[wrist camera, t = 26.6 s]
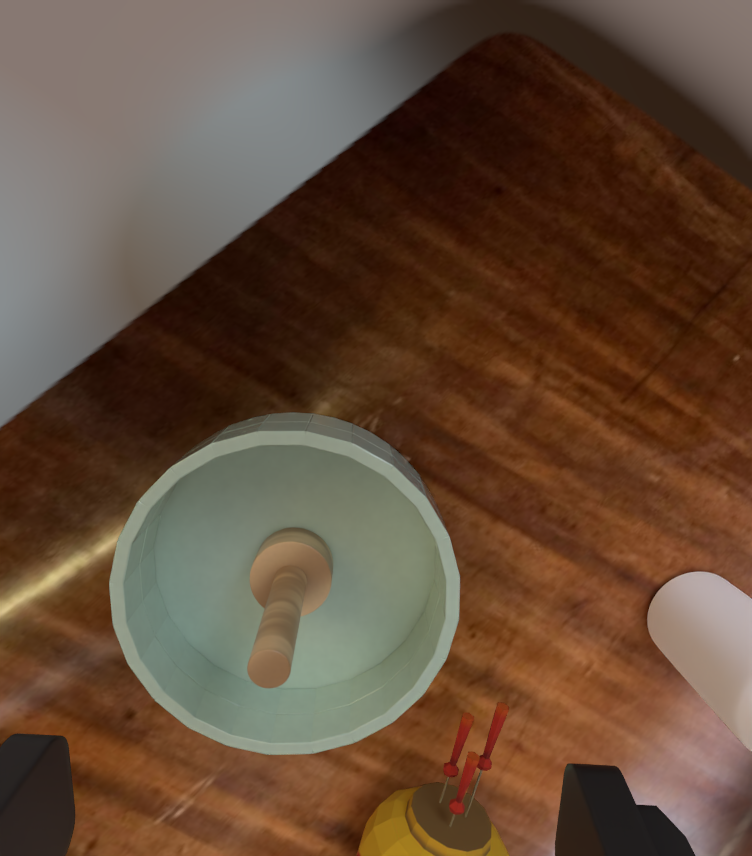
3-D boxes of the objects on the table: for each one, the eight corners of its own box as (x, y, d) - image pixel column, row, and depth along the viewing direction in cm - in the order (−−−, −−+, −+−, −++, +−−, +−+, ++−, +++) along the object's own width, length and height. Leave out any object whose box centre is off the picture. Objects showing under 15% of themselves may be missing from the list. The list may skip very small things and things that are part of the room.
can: (754, 622, 43) (904, 742, 31) (673, 673, 44) (791, 809, 32) (708, 550, 42) (845, 646, 30) (626, 603, 42) (729, 718, 31)
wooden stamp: (241, 550, 40) (192, 652, 28) (307, 513, 40) (286, 600, 28) (282, 612, 41) (251, 735, 29) (347, 576, 41) (343, 686, 29)
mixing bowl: (85, 508, 40) (38, 544, 34) (349, 354, 39) (348, 363, 33) (249, 740, 44) (232, 808, 38) (497, 606, 42) (519, 656, 36)
